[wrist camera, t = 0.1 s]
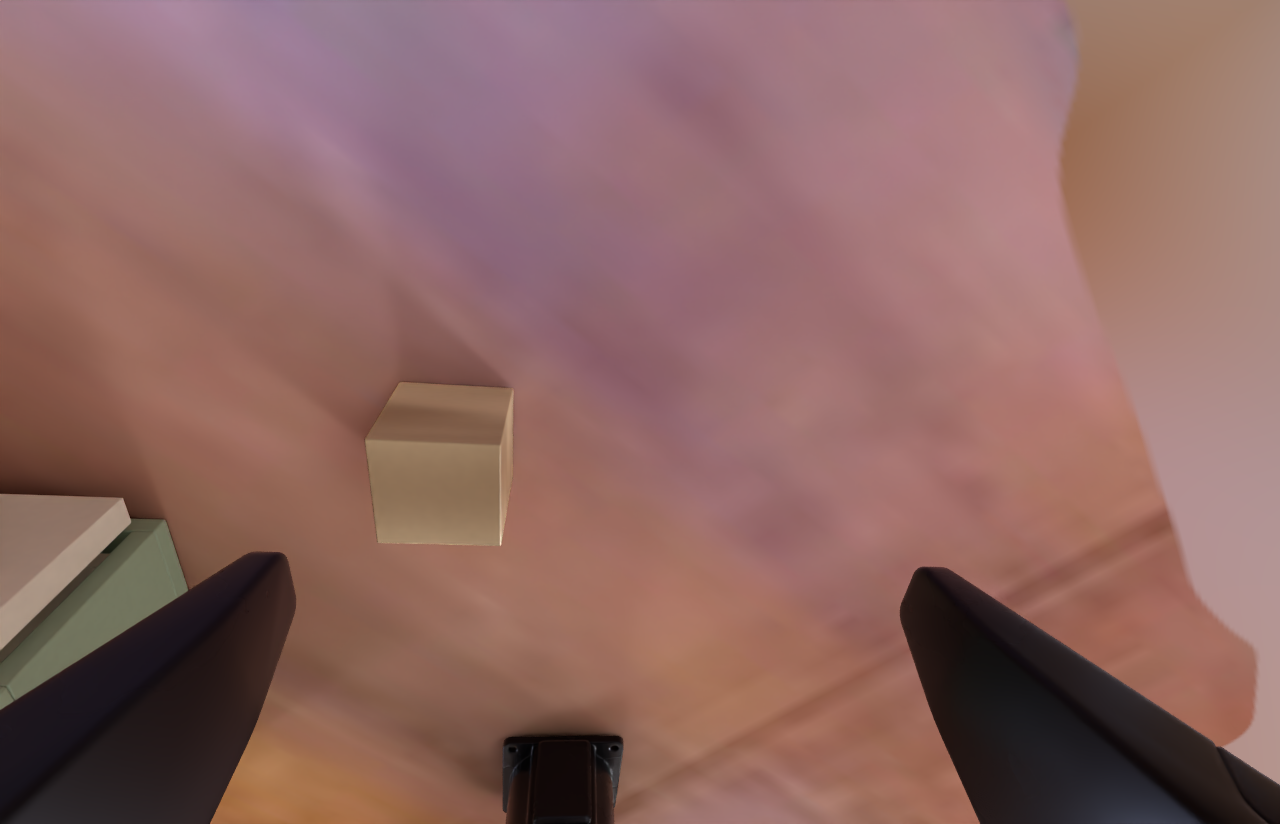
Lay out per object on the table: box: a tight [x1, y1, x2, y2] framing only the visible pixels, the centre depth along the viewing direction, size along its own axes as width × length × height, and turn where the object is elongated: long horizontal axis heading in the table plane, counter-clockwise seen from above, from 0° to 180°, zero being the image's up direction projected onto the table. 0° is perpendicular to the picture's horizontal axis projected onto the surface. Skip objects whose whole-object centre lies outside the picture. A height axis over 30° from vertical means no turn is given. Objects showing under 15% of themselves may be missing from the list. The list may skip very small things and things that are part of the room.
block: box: [365, 382, 513, 546], centre depth 22 cm, size 4×4×4 cm
